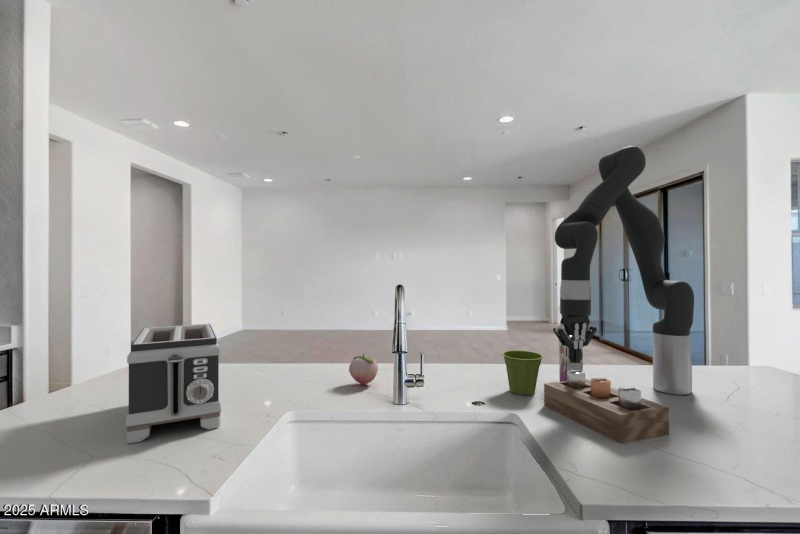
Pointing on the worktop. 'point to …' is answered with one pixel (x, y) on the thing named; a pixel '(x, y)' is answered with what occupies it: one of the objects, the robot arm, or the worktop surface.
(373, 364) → the decorative fruit
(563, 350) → the candy bar box
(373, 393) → the worktop surface
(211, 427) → the toaster
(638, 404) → the metal knob
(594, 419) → the console
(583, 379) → the metal knob
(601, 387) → the terracotta knob
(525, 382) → the plant pot
